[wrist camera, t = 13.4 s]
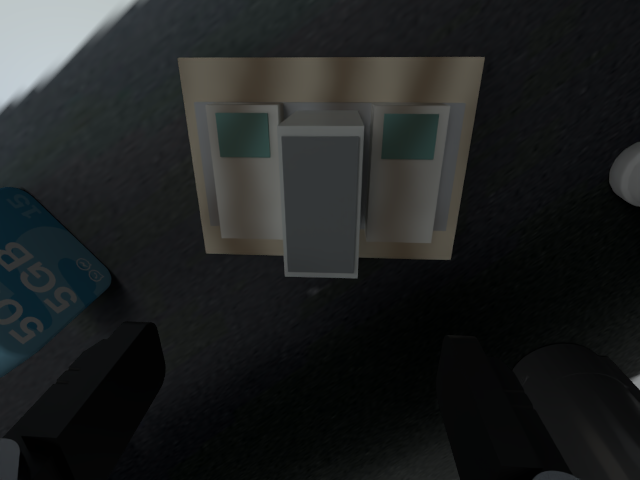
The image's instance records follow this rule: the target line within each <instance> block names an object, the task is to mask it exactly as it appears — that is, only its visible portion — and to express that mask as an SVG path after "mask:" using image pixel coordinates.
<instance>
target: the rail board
mask: <svg viewBox="0 0 640 480" xmlns="http://www.w3.org/2000/svg"><path fill="white" fill-rule="evenodd" d="M484 59H485V57H333V58H178V65H179V71H180V78H181V85H182V92H183V99H184V106H185V112H186V119H187V126H188V133H189V140H190V147H191V153H192V160H193V167H194V174H195V181H196V187H197V194H198V201H199V208H200V215H201V222H202V228H203V235H204V242H205V249H206V253H209V254H247V255H284V250H283V231H282V212H281V193H280V174H279V156H278V137H277V125H279V124H280V123H281V122H283V121H284V120H285V119H286V118H288V117H289V116H290V115H292V114H293V113H294V112H296V111H297V110H358V112H359V115H360V117H361V120H362V122H363V124H364V140H363V164H362V187H361V210H360V233H359V256H358V257H362V258H400V259H438V260H451V254H452V249H453V243H454V237H455V231H456V225H457V219H458V213H459V207H460V201H461V195H462V189H463V183H464V177H465V172H466V166H467V160H468V154H469V148H470V142H471V136H472V130H473V124H474V118H475V112H476V106H477V101H478V95H479V89H480V83H481V77H482V71H483V65H484Z"/></svg>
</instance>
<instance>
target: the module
mask: <svg viewBox="0 0 640 480" xmlns="http://www.w3.org/2000/svg"><path fill="white" fill-rule="evenodd" d="M277 137H278V156H279V174H280V193H281V212H282V231H283V250H284V269H285V276H286V277H327V278H358V256H359V233H360V210H361V187H362V164H363V140H364V124H363V122H362V120H361V117H360V115H359V112H358V110H297V111H296V112H294V113H293V114H292V115H290V116H289V117H288V118H286V119H285V120H284V121H283V122H281V123H280V124H279V125H277Z"/></svg>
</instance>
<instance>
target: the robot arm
mask: <svg viewBox="0 0 640 480" xmlns="http://www.w3.org/2000/svg"><path fill="white" fill-rule="evenodd" d="M164 377H165V361H164V356H163V352H162V348H161V343H160V339H159V334H158V330H157V327H156V325H155V324H154V323H152V322H123V323H122V324H121V325H120V326H119V327H118V328H117V329H116V330H115V331H114V332H113V334H112V335H111V336H110V337H109V338H108V339H103V340H101V341H100V342H98V343H96V344H95V345H93V346H92V347H90V348H89V349H87V350H86V351H84V352H83V353H82V354H81V355H80V356H79V357H78V358H77V359H76V360H75V361H74V362H73V364H72V365H71V366H70V367H69V370H68V371H65V372H64V373H63V374H62V375H61V376H60V377H59V378H58V379H57V382H56V384H53V385H52V386H51V387H50V388H49V389H48V390H47V391H46V392H45V393H44V394H43V395H42V396H41V397H40V399H39V400H38V401H37V402H36V403H35V404H34V405H33V406H32V407H31V408H30V409H29V410H28V411H27V412H26V413H25V414H24V416H23V417H22V418H21V419H20V420H19V421H18V422H17V423H16V424H15V425H14V426H13V427H12V428H11V429H10V430H9V431H8V433H7V434H6V435H5V436H4V437H3V438H0V480H107V479H108V477H109V475H110V473H111V472H112V470H113V468H114V467H115V465H116V463H117V461H118V460H119V458H120V456H121V455H122V453H123V451H124V450H125V448H126V446H127V444H128V443H129V441H130V439H131V438H132V436H133V434H134V432H135V431H136V429H137V427H138V426H139V424H140V422H141V421H142V419H143V417H144V415H145V414H146V412H147V410H148V409H149V407H150V405H151V403H152V402H153V400H154V398H155V397H156V395H157V393H158V392H159V390H160V388H161V386H162V384H163V381H164ZM436 393H437V400H438V404H439V407H440V411H441V414H442V418H443V421H444V425H445V428H446V432H447V435H448V439H449V442H450V446H451V449H452V452H453V456H454V459H455V463H456V466H457V470H458V473H459V477H460V480H640V390H639V389H638V388H637V387H636V386H635V385H634V384H633V382H632V381H631V380H630V379H629V378H628V377H627V376H626V375H625V374H624V373H623V372H622V371H621V370H620V369H619V368H618V367H617V365H616V364H615V363H614V362H613V361H612V360H611V359H610V358H609V357H601V356H598V355H596V354H595V353H594V352H592V351H591V350H590V349H588V348H585V347H583V346H580V345H575V344H554V345H549V346H546V347H542V348H540V349H537V350H535V351H533V352H531V353H530V354H528V355H526V356H525V357H524V358H523V359H521V360H520V361H519V362H518V363H517V365H516V366H515V367H514V369H513V370H511V369H510V368H509V367H508V366H506V365H505V364H504V363H503V362H502V361H501V360H500V359H499V358H498V357H486V355H485V353H484V351H483V349H482V347H481V345H480V343H479V341H478V339H477V338H476V337H475V336H455V335H446V336H445V337H444V339H443V344H442V349H441V355H440V360H439V366H438V371H437V377H436Z"/></svg>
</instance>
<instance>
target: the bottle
mask: <svg viewBox="0 0 640 480" xmlns="http://www.w3.org/2000/svg"><path fill="white" fill-rule="evenodd" d="M609 183H610V185H611V187H612V189H613V191H614V193H615V194H617V195H618V196H619V197H621V198H622V199H624V200H625V201H627V202H628V203H630V204H632V205H635V206H640V142H637V143H635V144H633V145H632V146H630V147H628V148H626V149H625V150H624V151H623V152H622V153H621V154H620V155H619V156H618V157H617V158H616V159H615V161H614V163H613V165H612V167H611V169H610V173H609Z"/></svg>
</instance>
